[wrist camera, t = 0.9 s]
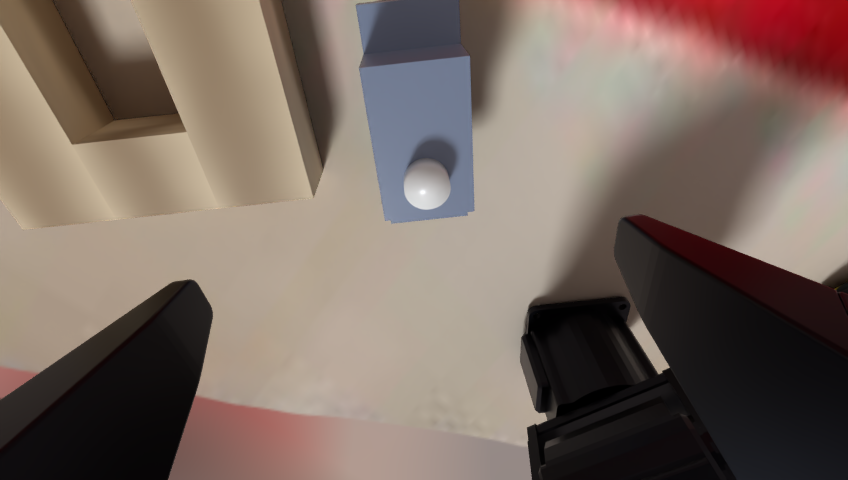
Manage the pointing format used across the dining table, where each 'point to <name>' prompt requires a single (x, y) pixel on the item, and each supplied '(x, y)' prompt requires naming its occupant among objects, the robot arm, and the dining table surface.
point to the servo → (418, 107)
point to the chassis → (154, 117)
